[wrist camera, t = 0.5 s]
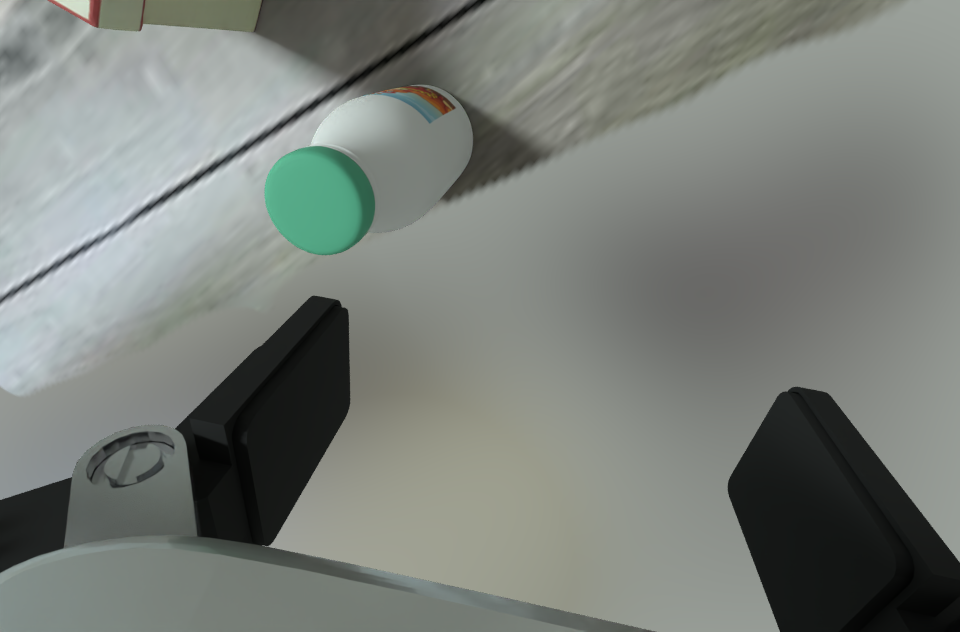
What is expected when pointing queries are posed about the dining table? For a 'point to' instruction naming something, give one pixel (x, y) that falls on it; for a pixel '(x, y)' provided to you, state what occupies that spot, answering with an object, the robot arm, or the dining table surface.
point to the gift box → (165, 13)
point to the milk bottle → (370, 168)
